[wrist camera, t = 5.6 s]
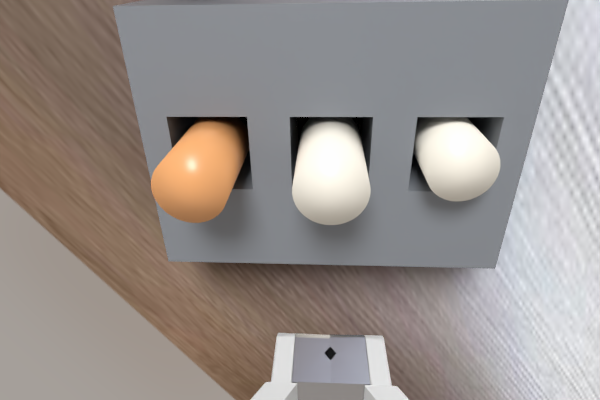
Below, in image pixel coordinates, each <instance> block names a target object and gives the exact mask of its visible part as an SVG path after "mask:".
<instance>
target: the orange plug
mask: <svg viewBox="0 0 600 400" xmlns="http://www.w3.org/2000/svg"><path fill="white" fill-rule="evenodd" d="M248 151H249V136H248V129H247V127H246V126H245V124H244V123H243V122H242V121H241V120H240V119H239V118H238V117H199V118H198V119H197V120H196V121H195V122H194V124H193V125H192V126H191V127H190V128H189V129H188V131H187V132H186V133H185V134H184V135H183V136H182V138H181V139H180V140H179V141H178V142H177V143H176V145H175V146H174V147H173V148H172V149H171V151H170V152H169V153H168V154H167V155H166V156H165V158H164V159H163V160H162V161H161V162H160V163H159V165H158V166H157V167H156V168H155V170H154V172H153V175H152V179H151V188H152V193H153V196H154V198H155V200H156V201H157V203H158V204H159V206H160V207H161V208H162V209H163V210H164V211H165V212H166V213H168V214H169V215H171V216H172V217H174V218H176V219H178V220H181V221H184V222H189V223H201V222H206V221H209V220H211V219H213V218H215V217H216V216H218V215H219V214H220V213H221V212H222V210H223V209H224V207H225V205H226V202H227V200H228V198H229V195H230V193H231V191H232V188H233V186H234V184H235V181H236V179H237V177H238V174H239V172H240V169H241V167H242V165H243V162H244V160H245V158H246V155H247V153H248Z"/></svg>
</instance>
